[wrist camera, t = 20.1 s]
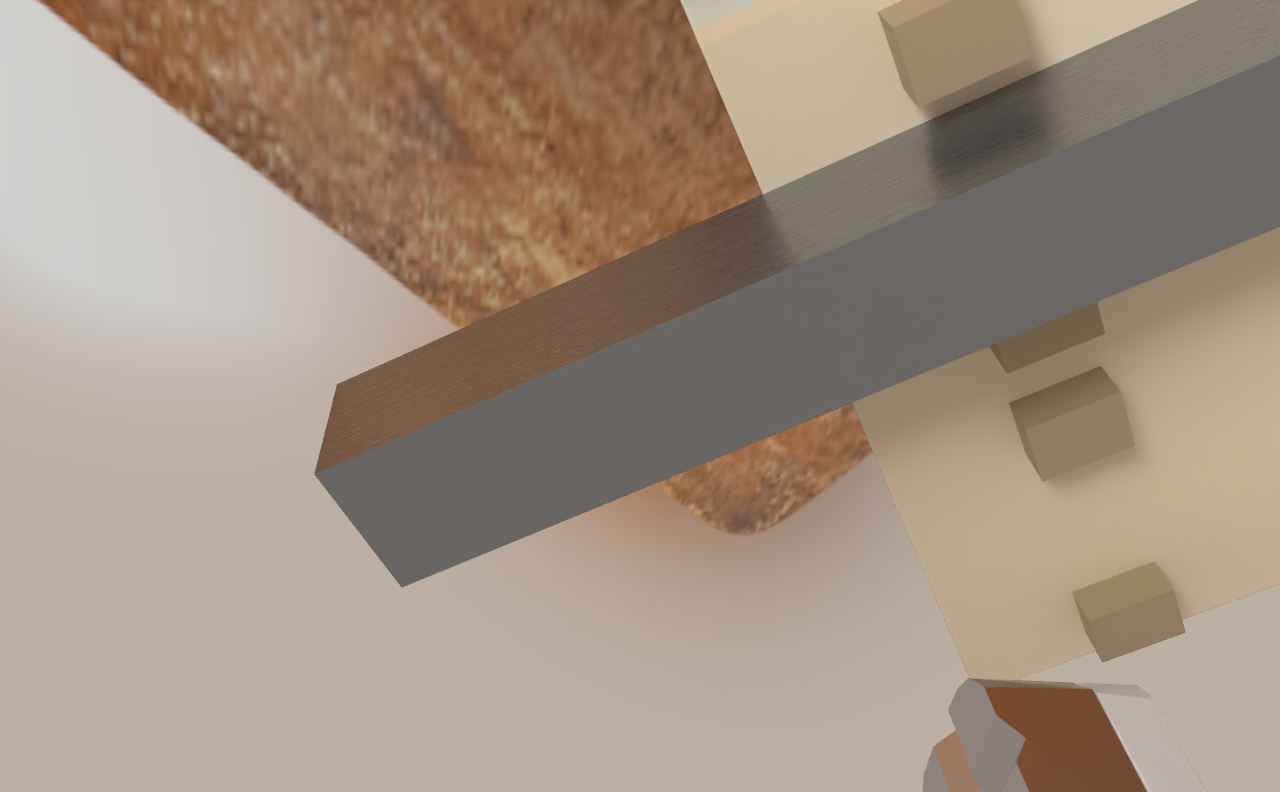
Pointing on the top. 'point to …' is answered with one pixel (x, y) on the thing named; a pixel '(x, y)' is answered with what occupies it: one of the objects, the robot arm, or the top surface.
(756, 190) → the top surface
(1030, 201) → the long grey bar
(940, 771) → the robot arm
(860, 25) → the stand
